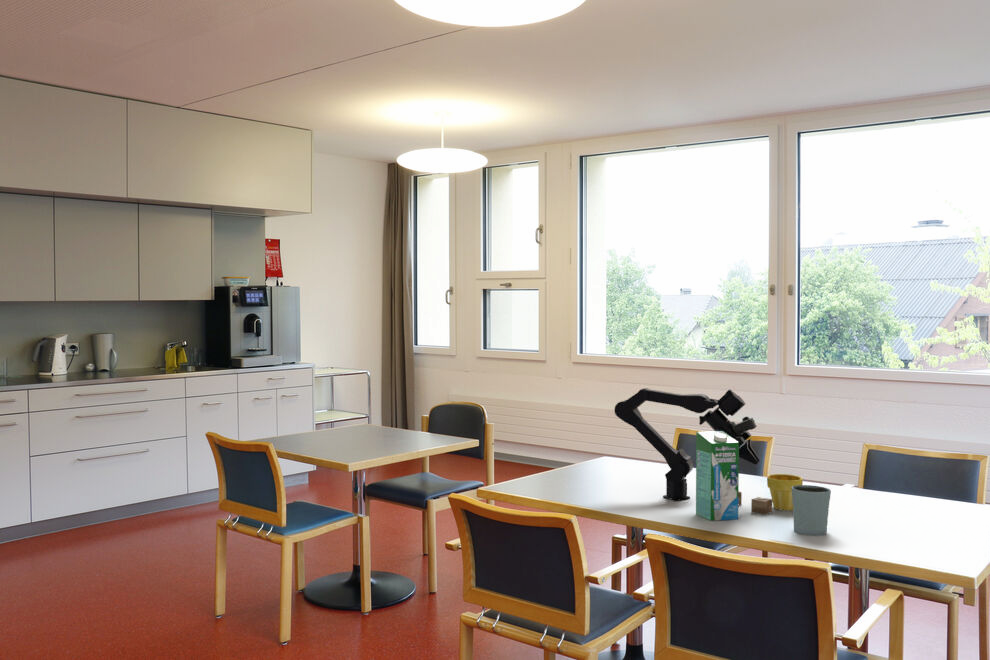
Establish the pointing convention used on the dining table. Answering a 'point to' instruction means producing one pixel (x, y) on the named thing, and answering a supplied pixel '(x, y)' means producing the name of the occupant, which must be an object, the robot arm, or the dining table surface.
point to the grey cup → (810, 509)
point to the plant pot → (782, 489)
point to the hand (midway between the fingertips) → (757, 462)
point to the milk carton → (717, 476)
